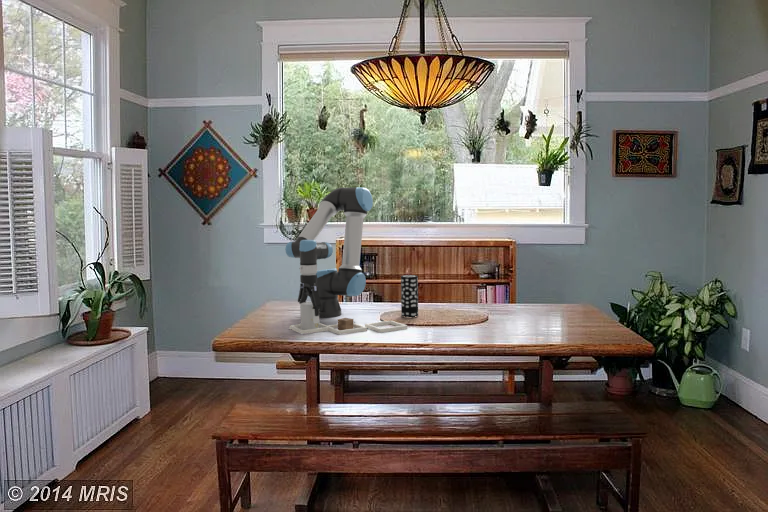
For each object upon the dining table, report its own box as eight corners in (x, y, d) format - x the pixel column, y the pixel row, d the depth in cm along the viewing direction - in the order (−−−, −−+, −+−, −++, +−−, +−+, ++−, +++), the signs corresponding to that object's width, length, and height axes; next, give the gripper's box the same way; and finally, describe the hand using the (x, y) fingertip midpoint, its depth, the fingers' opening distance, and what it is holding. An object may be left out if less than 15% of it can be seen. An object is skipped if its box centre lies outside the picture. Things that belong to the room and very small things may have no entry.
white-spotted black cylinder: (420, 315, 337) (419, 275, 335) (415, 318, 330) (415, 277, 328) (404, 314, 340) (403, 274, 338) (399, 317, 332) (398, 277, 330)
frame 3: (365, 327, 311) (365, 323, 310) (391, 323, 318) (391, 320, 318) (380, 332, 299) (380, 329, 298) (407, 328, 306) (407, 325, 306)
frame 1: (289, 328, 310) (289, 325, 310) (317, 325, 317) (317, 321, 317) (302, 334, 298) (302, 330, 298) (330, 330, 305) (330, 327, 305)
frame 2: (324, 329, 308) (324, 325, 308) (352, 325, 315) (352, 322, 315) (339, 334, 296) (338, 331, 296) (366, 330, 303) (366, 327, 303)
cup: (316, 331, 303) (315, 305, 301) (298, 331, 304) (297, 304, 303) (321, 327, 311) (320, 302, 309) (304, 327, 312) (303, 301, 311)
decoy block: (337, 330, 305) (337, 319, 305) (345, 328, 309) (345, 317, 308) (346, 331, 302) (345, 320, 301) (353, 329, 306) (353, 318, 305)
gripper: (289, 272, 314) (291, 317, 316) (312, 277, 292) (313, 326, 294) (304, 270, 317) (305, 315, 319) (328, 276, 296) (329, 324, 298)
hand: (309, 320), depth 307 cm, fingers open, 13 cm apart
